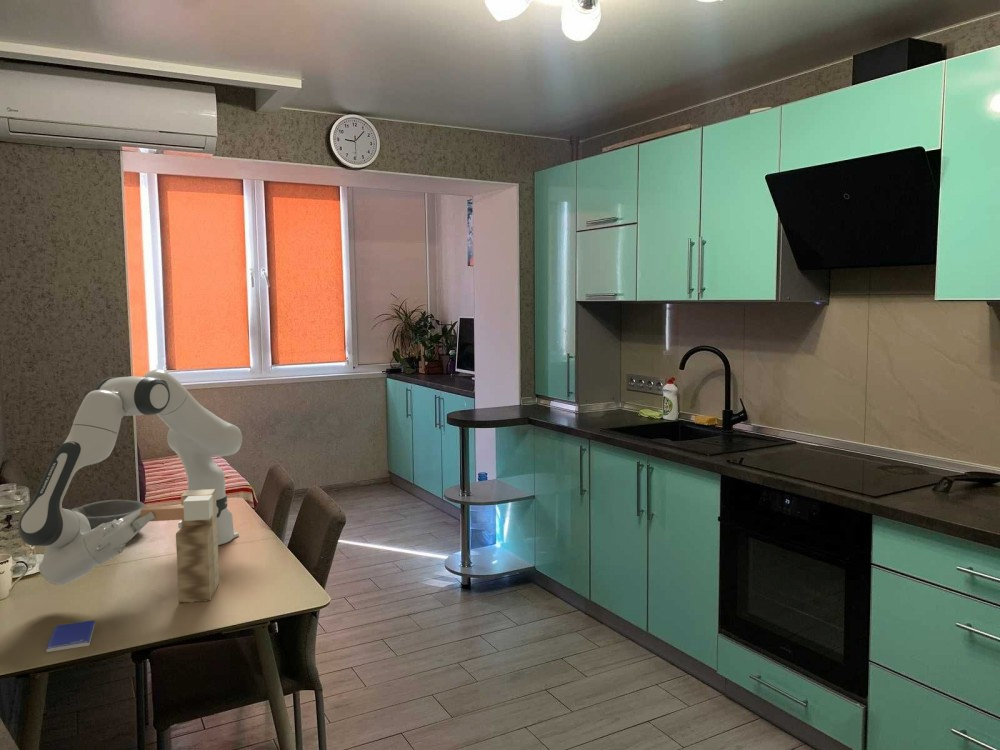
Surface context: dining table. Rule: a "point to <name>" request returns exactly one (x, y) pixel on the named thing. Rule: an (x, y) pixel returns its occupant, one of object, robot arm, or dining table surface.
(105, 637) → the dining table surface
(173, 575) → the dining table surface
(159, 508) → the hammer
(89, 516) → the bowl
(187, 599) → the beige tall block
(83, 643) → the hard drive
